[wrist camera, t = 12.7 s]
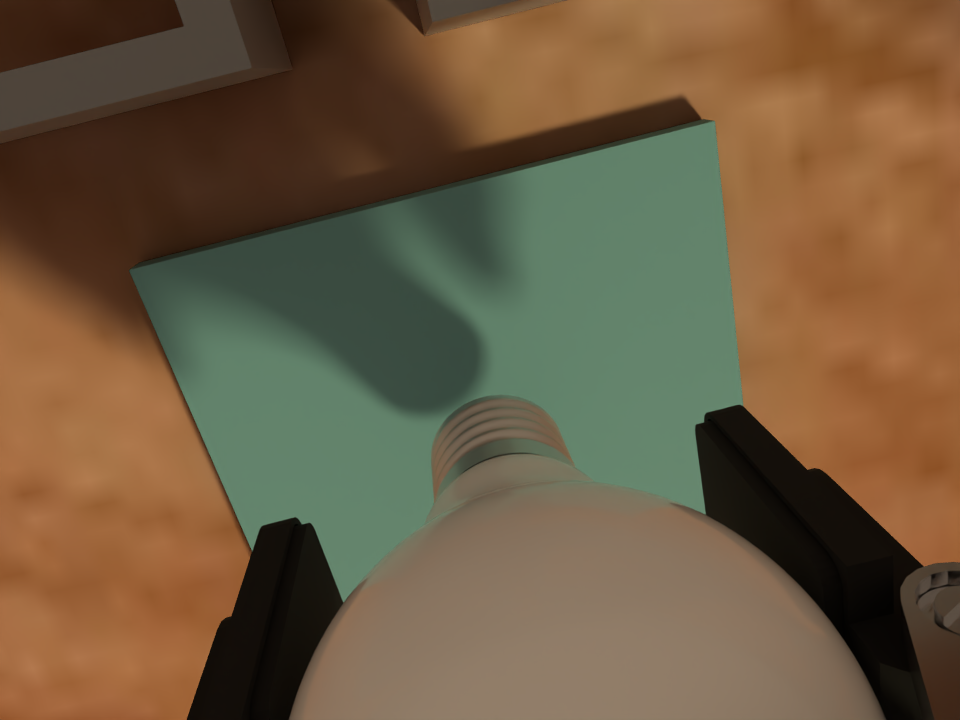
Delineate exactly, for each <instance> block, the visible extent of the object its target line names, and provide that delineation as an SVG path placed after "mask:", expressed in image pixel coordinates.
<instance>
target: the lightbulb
mask: <svg viewBox="0 0 960 720" xmlns="http://www.w3.org/2000/svg"><path fill="white" fill-rule="evenodd" d="M431 470H432V483H433V495H434V504H433V506H432V508H431V510H430V512H429V514H428V515H427V518H426V520H425V522H424V525H422V526H421V527H420V528H418V529H417V530H415V531H414V532H412V533H411V534H410V535H409V536H407V537H406V538H405V539H403V540H402V541H401V542H400V543H399V544H397V545H396V546H395V547H394V548H393V549H391V550H390V551H389V552H388V553H387V554H386V555H385V556H384V557H383V558H382V559H381V560H380V561H379V562H378V563H377V564H376V565H375V566H374V567H373V568H372V569H371V570H370V571H369V572H368V573H367V574H366V575H365V577H364V578H363V579H362V580H361V581H360V582H359V583H358V585H357V586H356V587H355V588H354V590H353V591H352V592H351V593H350V595H349V596H348V597H347V599H346V600H345V601H344V603H343V604H342V605H341V607H340V608H339V610H338V611H337V613H336V614H335V616H334V617H333V619H332V621H331V622H330V624H329V625H328V627H327V629H326V631H325V632H324V634H323V636H322V638H321V639H320V641H319V643H318V645H317V647H316V649H315V651H314V653H313V655H312V657H311V659H310V661H309V664H308V666H307V668H306V671H305V673H304V675H303V678H302V680H301V683H300V685H299V688H298V691H297V694H296V697H295V700H294V703H293V706H292V709H291V712H290V716H289V720H887V719H886V717H885V714H884V712H883V710H882V707H881V705H880V703H879V701H878V698H877V696H876V694H875V692H874V690H873V688H872V686H871V684H870V683H869V681H868V679H867V677H866V675H865V673H864V671H863V670H862V668H861V666H860V664H859V663H858V661H857V659H856V658H855V656H854V654H853V653H852V651H851V649H850V648H849V646H848V645H847V643H846V642H845V640H844V639H843V637H842V636H841V634H840V633H839V632H838V630H837V629H836V627H835V626H834V625H833V623H832V622H831V621H830V619H829V618H828V617H827V616H826V614H825V613H824V612H823V611H822V609H821V608H820V607H819V606H818V605H817V603H816V602H815V601H814V600H813V599H812V598H811V597H810V595H809V594H808V593H807V592H806V591H805V590H804V589H803V588H802V587H801V586H800V585H799V584H798V583H797V582H796V581H795V580H794V579H793V578H792V577H791V576H790V575H789V574H788V573H787V572H786V571H785V570H784V569H783V568H782V567H781V566H779V565H778V564H777V563H776V562H775V561H774V560H772V559H771V558H770V557H769V556H768V555H766V554H765V553H764V552H763V551H761V550H760V549H759V548H757V547H756V546H755V545H753V544H752V543H751V542H749V541H748V540H747V539H745V538H744V537H742V536H741V535H739V534H738V533H736V532H735V531H733V530H732V529H730V528H728V527H727V526H725V525H723V524H722V523H720V522H718V521H716V520H715V519H713V518H711V517H709V516H707V515H705V514H703V513H701V512H699V511H697V510H695V509H693V508H690V507H688V506H686V505H684V504H681V503H679V502H676V501H674V500H671V499H668V498H665V497H663V496H660V495H657V494H654V493H650V492H646V491H643V490H639V489H635V488H631V487H626V486H621V485H615V484H610V483H602V482H595V481H594V480H592V479H591V478H590V477H589V476H587V475H586V474H585V473H583V472H582V471H580V470H578V469H577V468H576V467H575V465H574V462H573V460H572V458H571V456H570V453H569V451H568V449H567V447H566V444H565V442H564V440H563V438H562V435H561V432H560V430H559V428H558V426H557V424H556V422H555V421H554V420H553V418H552V417H551V416H550V415H549V414H548V413H547V412H546V411H545V410H544V409H543V408H541V407H540V406H538V405H537V404H535V403H533V402H531V401H529V400H527V399H524V398H521V397H517V396H511V395H491V396H485V397H481V398H478V399H475V400H473V401H470V402H468V403H466V404H464V405H463V406H461V407H459V408H458V409H457V410H455V411H454V412H453V413H452V414H451V415H449V416H448V418H447V419H446V420H445V421H444V422H443V424H442V425H441V426H440V428H439V430H438V432H437V434H436V436H435V438H434V441H433V445H432V451H431Z"/></svg>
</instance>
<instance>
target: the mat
mask: <svg viewBox="0 0 960 720" xmlns="http://www.w3.org/2000/svg"><path fill="white" fill-rule="evenodd" d="M129 272H130V274H131V276H132V278H133V281H134V283H135V285H136V287H137V290H138V292H139V294H140V297H141V299H142V301H143V303H144V306H145V308H146V310H147V313H148V315H149V317H150V319H151V322H152V324H153V326H154V329H155V331H156V333H157V335H158V338H159V340H160V342H161V345H162V347H163V349H164V351H165V354H166V356H167V358H168V360H169V363H170V365H171V367H172V370H173V372H174V374H175V376H176V379H177V381H178V383H179V386H180V388H181V390H182V392H183V395H184V397H185V399H186V402H187V404H188V406H189V408H190V411H191V413H192V415H193V417H194V420H195V422H196V424H197V427H198V429H199V431H200V433H201V436H202V438H203V440H204V443H205V445H206V447H207V449H208V452H209V454H210V456H211V459H212V461H213V463H214V465H215V468H216V470H217V472H218V475H219V477H220V479H221V481H222V484H223V486H224V488H225V490H226V493H227V495H228V497H229V500H230V502H231V504H232V506H233V509H234V511H235V513H236V516H237V518H238V520H239V522H240V525H241V527H242V529H243V532H244V534H245V536H246V538H247V541H248V543H249V545H250V548H251V550H252V551H253V548H254V545H255V542H256V539H257V536H258V532H259V530H260V528H261V526H263V525H266V524H270V523H274V522H278V521H282V520H286V519H290V518H294V517H296V518H298V519H299V520H300V522H301V524H306V523H311V524H312V525H313V527H314V529H315V531H316V534H317V536H318V539H319V541H320V544H321V547H322V549H323V552H324V554H325V557H326V559H327V562H328V564H329V567H330V570H331V572H332V575H333V577H334V580H335V582H336V585H337V587H338V590H339V593H340V595H341V598H342V600H343V603H344V601H345V600H346V599H347V597H348V596H349V595H350V593H351V592H352V591H353V590H354V588H355V587H356V586H357V585H358V583H359V582H360V581H361V580H362V579H363V578H364V577H365V575H366V574H367V573H368V572H369V571H370V570H371V569H372V568H373V567H374V566H375V565H376V564H377V563H378V562H379V561H380V560H381V559H382V558H383V557H384V556H385V555H386V554H387V553H388V552H389V551H390V550H391V549H393V548H394V547H395V546H396V545H397V544H399V543H400V542H401V541H402V540H403V539H405V538H406V537H407V536H409V535H410V534H411V533H412V532H414V531H415V530H417V529H418V528H420V527H421V526H422V525H424V522H425V520H426V518H427V515H428V514H429V512H430V510H431V508H432V506H433V504H434V495H433V483H432V470H431V451H432V445H433V441H434V438H435V436H436V434H437V432H438V430H439V428H440V426H441V425H442V424H443V422H444V421H445V420H446V419H447V418H448V416H449V415H451V414H452V413H453V412H454V411H455V410H457V409H458V408H459V407H461V406H463V405H464V404H466V403H468V402H470V401H473V400H475V399H478V398H481V397H485V396H491V395H511V396H517V397H521V398H524V399H527V400H529V401H531V402H533V403H535V404H537V405H538V406H540V407H541V408H543V409H544V410H545V411H546V412H547V413H548V414H549V415H550V416H551V417H552V418H553V420H554V421H555V422H556V424H557V426H558V428H559V430H560V432H561V435H562V438H563V440H564V442H565V444H566V447H567V449H568V451H569V453H570V456H571V458H572V460H573V462H574V465H575V467H576V468H577V469H578V470H580V471H582V472H583V473H585V474H586V475H587V476H589V477H590V478H591V479H592V480H594V481H595V482H602V483H610V484H615V485H621V486H626V487H631V488H635V489H639V490H643V491H646V492H650V493H654V494H657V495H660V496H663V497H665V498H668V499H671V500H674V501H676V502H679V503H681V504H684V505H686V506H688V507H690V508H693V509H695V510H697V511H699V512H701V513H703V514H705V515H706V512H705V504H704V497H703V489H702V481H701V474H700V466H699V459H698V451H697V443H696V436H695V426H696V424H699V423H703V422H704V416H705V414H706V413H707V412H711V411H715V410H719V409H723V408H727V407H731V406H735V405H742V406H743V398H742V388H741V378H740V368H739V358H738V348H737V338H736V328H735V318H734V308H733V298H732V288H731V278H730V268H729V258H728V248H727V238H726V228H725V218H724V208H723V198H722V188H721V178H720V168H719V158H718V148H717V138H716V128H715V121H712V120H705V119H702V120H698V121H694V122H690V123H686V124H682V125H679V126H675V127H671V128H667V129H663V130H659V131H655V132H651V133H647V134H643V135H639V136H635V137H631V138H627V139H623V140H620V141H616V142H612V143H608V144H604V145H600V146H596V147H592V148H588V149H584V150H580V151H576V152H572V153H568V154H565V155H561V156H557V157H553V158H549V159H545V160H541V161H537V162H533V163H529V164H525V165H521V166H517V167H513V168H509V169H506V170H502V171H498V172H494V173H490V174H486V175H482V176H478V177H474V178H470V179H466V180H462V181H458V182H454V183H451V184H447V185H443V186H439V187H435V188H431V189H427V190H423V191H419V192H415V193H411V194H407V195H403V196H399V197H395V198H392V199H388V200H384V201H380V202H376V203H372V204H368V205H364V206H360V207H356V208H352V209H348V210H344V211H340V212H336V213H333V214H329V215H325V216H321V217H317V218H313V219H309V220H305V221H301V222H297V223H293V224H289V225H285V226H281V227H278V228H274V229H270V230H266V231H262V232H258V233H254V234H250V235H246V236H242V237H238V238H234V239H230V240H226V241H222V242H219V243H215V244H211V245H207V246H203V247H199V248H195V249H191V250H187V251H183V252H179V253H175V254H171V255H167V256H164V257H160V258H156V259H152V260H148V261H144V262H140V263H138V264H137V265H135V266H134V267H132V268H131V269H130V270H129Z"/></svg>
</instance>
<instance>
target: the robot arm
mask: <svg viewBox="0 0 960 720" xmlns="http://www.w3.org/2000/svg"><path fill="white" fill-rule="evenodd" d="M695 436H696V443H697V451H698V459H699V466H700V474H701V481H702V489H703V497H704V504H705V512H706V515H707V516H709V517H711V518H713V519H715V520H716V521H718V522H720V523H722V524H723V525H725V526H727V527H728V528H730V529H732V530H733V531H735V532H736V533H738V534H739V535H741V536H742V537H744V538H745V539H747V540H748V541H749V542H751V543H752V544H753V545H755V546H756V547H757V548H759V549H760V550H761V551H763V552H764V553H765V554H766V555H768V556H769V557H770V558H771V559H772V560H774V561H775V562H776V563H777V564H778V565H779V566H781V567H782V568H783V569H784V570H785V571H786V572H787V573H788V574H789V575H790V576H791V577H792V578H793V579H794V580H795V581H796V582H797V583H798V584H799V585H800V586H801V587H802V588H803V589H804V590H805V591H806V592H807V593H808V594H809V595H810V597H811V598H812V599H813V600H814V601H815V602H816V603H817V605H818V606H819V607H820V608H821V609H822V611H823V612H824V613H825V614H826V616H827V617H828V618H829V619H830V621H831V622H832V623H833V625H834V626H835V627H836V629H837V630H838V632H839V633H840V634H841V636H842V637H843V639H844V640H845V642H846V643H847V645H848V646H849V648H850V649H851V651H852V653H853V654H854V656H855V658H856V659H857V661H858V663H859V664H860V666H861V668H862V670H863V671H864V673H865V675H866V677H867V679H868V681H869V683H870V684H871V686H872V688H873V690H874V692H875V694H876V696H877V698H878V701H879V703H880V705H881V707H882V710H883V712H884V714H885V717H886V719H887V720H960V563H958V562H949V563H935V564H932V565H928V566H925V567H924V566H923V565H922V564H920V563H919V562H918V561H917V560H916V559H915V558H914V557H913V556H912V555H911V554H910V553H909V552H908V551H907V550H906V549H905V548H904V547H903V546H902V545H901V544H900V543H898V542H897V541H896V540H895V539H894V538H893V537H892V536H891V535H890V534H889V533H888V532H887V531H886V530H885V529H884V528H883V527H882V526H881V525H880V524H879V523H878V522H877V521H875V520H874V519H873V518H872V517H871V516H870V515H869V514H868V513H867V512H866V511H865V510H864V509H863V508H862V507H861V506H860V505H859V504H858V503H857V502H856V501H855V500H853V499H852V498H851V497H850V496H849V495H848V494H847V493H846V492H845V491H844V490H843V489H842V488H841V487H840V486H839V485H838V484H837V483H836V482H835V481H834V480H833V479H831V478H830V477H829V476H828V475H827V474H826V473H825V472H823V471H822V470H820V469H816V468H813V469H809V470H807V469H806V468H805V467H804V466H803V465H802V464H801V463H800V462H799V461H798V460H797V459H796V458H795V457H794V456H793V455H792V454H791V453H790V452H789V451H788V450H787V449H786V448H785V447H784V446H783V445H782V444H781V443H780V442H779V441H778V440H777V439H776V438H775V437H774V436H773V435H772V434H771V433H770V432H769V431H768V430H767V429H766V428H765V427H764V426H762V425H761V424H760V423H759V422H758V421H757V420H756V419H755V418H754V417H753V416H752V415H751V414H750V413H749V412H748V411H747V410H746V409H745V408H744V407H743V406H742V405H735V406H731V407H727V408H723V409H719V410H715V411H711V412H707V413H706V414H705V416H704V422H703V423H699V424H696V426H695ZM342 604H343V600H342V598H341V595H340V593H339V590H338V587H337V585H336V582H335V580H334V577H333V575H332V572H331V570H330V567H329V564H328V562H327V559H326V557H325V554H324V552H323V549H322V547H321V544H320V541H319V539H318V536H317V534H316V531H315V529H314V527H313V525H312V524H311V523H306V524H301V522H300V520H299V519H298V518H296V517H294V518H290V519H286V520H282V521H278V522H274V523H270V524H266V525H263V526H261V528H260V530H259V532H258V536H257V539H256V542H255V545H254V548H253V551H252V554H251V557H250V560H249V563H248V567H247V570H246V573H245V576H244V579H243V582H242V585H241V588H240V591H239V595H238V598H237V601H236V604H235V607H234V610H233V613H232V616H231V617H227V618H225V619H224V620H222V621H221V623H220V625H219V627H218V629H217V632H216V635H215V638H214V641H213V644H212V647H211V650H210V653H209V656H208V659H207V661H206V664H205V667H204V670H203V673H202V676H201V679H200V682H199V685H198V688H197V691H196V694H195V697H194V700H193V703H192V706H191V709H190V711H189V714H188V717H187V720H289V716H290V712H291V709H292V706H293V703H294V700H295V697H296V694H297V691H298V688H299V685H300V683H301V680H302V678H303V675H304V673H305V671H306V668H307V666H308V664H309V661H310V659H311V657H312V655H313V653H314V651H315V649H316V647H317V645H318V643H319V641H320V639H321V638H322V636H323V634H324V632H325V631H326V629H327V627H328V625H329V624H330V622H331V621H332V619H333V617H334V616H335V614H336V613H337V611H338V610H339V608H340V607H341V605H342Z"/></svg>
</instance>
